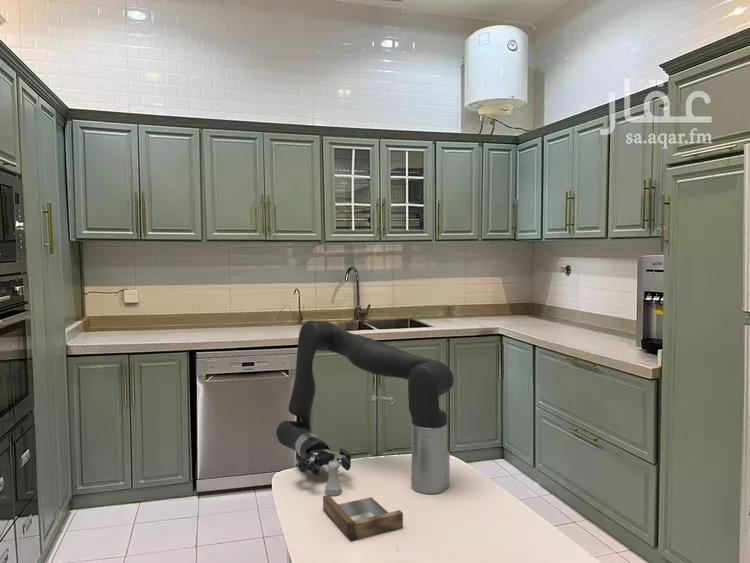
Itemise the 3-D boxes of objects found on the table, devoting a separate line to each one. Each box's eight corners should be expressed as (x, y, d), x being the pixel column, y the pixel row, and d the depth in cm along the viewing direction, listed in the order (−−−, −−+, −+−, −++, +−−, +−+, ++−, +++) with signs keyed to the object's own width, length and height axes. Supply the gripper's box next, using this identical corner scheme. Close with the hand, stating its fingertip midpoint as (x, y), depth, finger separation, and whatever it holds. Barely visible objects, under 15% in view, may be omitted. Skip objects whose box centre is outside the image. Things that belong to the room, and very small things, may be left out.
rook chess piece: (339, 497, 139) (339, 466, 138) (322, 495, 139) (322, 464, 139) (344, 489, 143) (344, 459, 143) (327, 488, 144) (327, 458, 143)
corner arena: (371, 499, 137) (371, 485, 137) (402, 528, 123) (402, 512, 123) (323, 510, 131) (323, 495, 131) (350, 541, 117) (350, 525, 117)
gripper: (287, 440, 152) (307, 459, 138) (335, 433, 159) (358, 450, 144) (287, 466, 152) (307, 488, 138) (335, 458, 159) (358, 478, 144)
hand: (333, 469), depth 141 cm, fingers open, 8 cm apart
